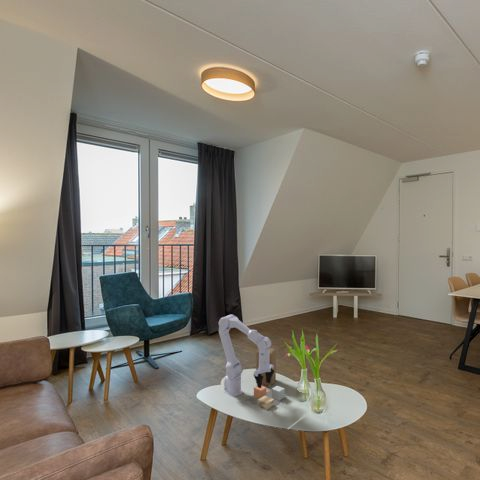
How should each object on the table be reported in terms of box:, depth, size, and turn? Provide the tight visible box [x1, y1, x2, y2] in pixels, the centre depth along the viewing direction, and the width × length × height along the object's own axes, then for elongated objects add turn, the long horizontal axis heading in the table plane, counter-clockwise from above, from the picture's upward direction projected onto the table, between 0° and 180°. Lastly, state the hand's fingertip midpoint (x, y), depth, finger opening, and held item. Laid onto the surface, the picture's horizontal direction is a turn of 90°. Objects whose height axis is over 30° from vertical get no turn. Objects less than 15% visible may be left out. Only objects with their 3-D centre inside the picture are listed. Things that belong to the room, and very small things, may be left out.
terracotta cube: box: [253, 385, 267, 399], centre depth 180 cm, size 5×5×5 cm
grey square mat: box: [245, 388, 289, 412], centre depth 177 cm, size 16×18×1 cm
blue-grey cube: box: [271, 385, 285, 400], centre depth 179 cm, size 5×5×5 cm
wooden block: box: [255, 347, 277, 387], centre depth 198 cm, size 10×10×20 cm
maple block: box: [258, 396, 274, 410], centre depth 171 cm, size 6×6×3 cm
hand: (263, 385), depth 175 cm, fingers open, 7 cm apart
